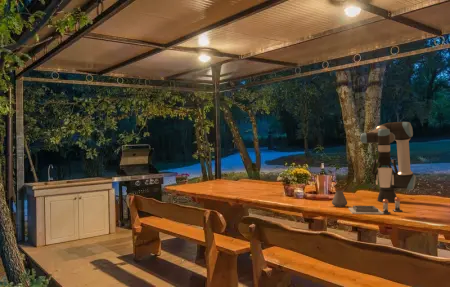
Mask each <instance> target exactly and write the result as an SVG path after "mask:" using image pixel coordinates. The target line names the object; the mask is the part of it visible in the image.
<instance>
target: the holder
mask: <svg viewBox="0 0 450 287" xmlns="http://www.w3.org/2000/svg"><path fill="white" fill-rule="evenodd" d="M347 210H348V211H349V212H350V213H351V215H385V214H384V213H383V211H382V210H380V209H379V208H378V207H376V206H375V205H352V207H348V209H347Z"/></svg>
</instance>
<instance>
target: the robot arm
mask: <svg viewBox="0 0 450 287" xmlns="http://www.w3.org/2000/svg"><path fill="white" fill-rule="evenodd" d="M413 135H414V131H413V126H412V123H411V122H409V121H395V122H387V123H383V124H380V125H378V126H377V127H375V129H372V130H371V131H368V132H362V133H361V134H360V143H362V144H377V151H378V154H377V156H378V158H377V159H373V165H372V167H371V175H373V177H374V180H375V185H377V186H379V177H378V169H377V168H381V167H382V166H387V168H392V175H391V183H390V187H389V188H383V187H380V186H379V193H378V196H377V202H380V203H383V200H384V199H387V200H388V203H395V198H396V197H398V196H397V194H396V190H407V191H408V190H414V188H415V185H416V179H417V177H416V175H415V174H414V172H413V171H412V170H411V158H410V157H411V156H410V155H411V154H410V142H409V141H410V140H411V138H412V137H413ZM395 141H396V150H397V151H396V152H397V160H396V159H391V143H393V142H395ZM396 161H397V164H398V165H397V164H396ZM377 163H378V165H377ZM390 163H392V166H393V167H392V166H391V164H390ZM397 166H398V167H397ZM376 167H377V168H376Z"/></svg>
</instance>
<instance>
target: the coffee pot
mask: <svg viewBox="0 0 450 287" xmlns="http://www.w3.org/2000/svg"><path fill="white" fill-rule="evenodd" d="M349 187H351V186H350V185H349V184H348V185H346V186H345V187H344V188H343V189H341V188H335V189H334V191H335V192H334V195H333V198H332V200H331V204H332V205H333V206H334V207H336V208H343V207H344V208H345V207H346V206H347V205H348V201H347V199H346V196H345V193H344V192H345V191H346V190H348V188H349Z"/></svg>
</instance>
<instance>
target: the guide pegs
mask: <svg viewBox="0 0 450 287" xmlns="http://www.w3.org/2000/svg"><path fill="white" fill-rule="evenodd" d="M400 202H401V198H400V197H398V196H397V197H396V198H395V202H394V209H392V212H393V211H394V213H403V209H401V204H400ZM382 204H383V205H382V209H383V211H382V212H383V213H384V215H388V216H389V215H391V211H389V202H388V200H387V199H384V200H383V202H382Z"/></svg>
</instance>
